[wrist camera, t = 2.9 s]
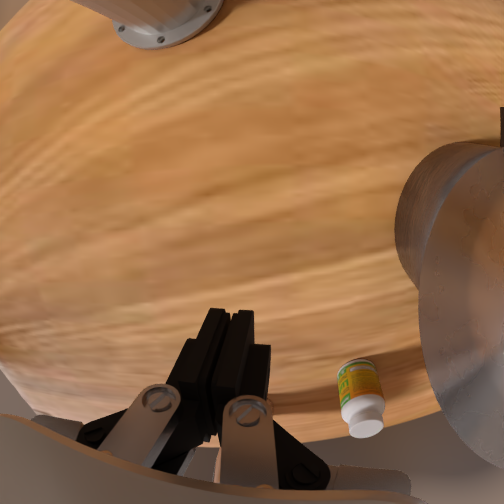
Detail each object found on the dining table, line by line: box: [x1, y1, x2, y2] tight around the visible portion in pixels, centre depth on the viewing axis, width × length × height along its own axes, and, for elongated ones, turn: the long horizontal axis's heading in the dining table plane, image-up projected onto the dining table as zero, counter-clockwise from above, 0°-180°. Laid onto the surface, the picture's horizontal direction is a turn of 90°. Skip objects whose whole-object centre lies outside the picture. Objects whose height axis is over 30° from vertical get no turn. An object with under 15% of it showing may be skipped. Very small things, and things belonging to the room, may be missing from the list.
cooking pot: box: [395, 107, 504, 290], centre depth 22 cm, size 25×18×10 cm
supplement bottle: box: [337, 359, 385, 438], centre depth 31 cm, size 5×5×10 cm
